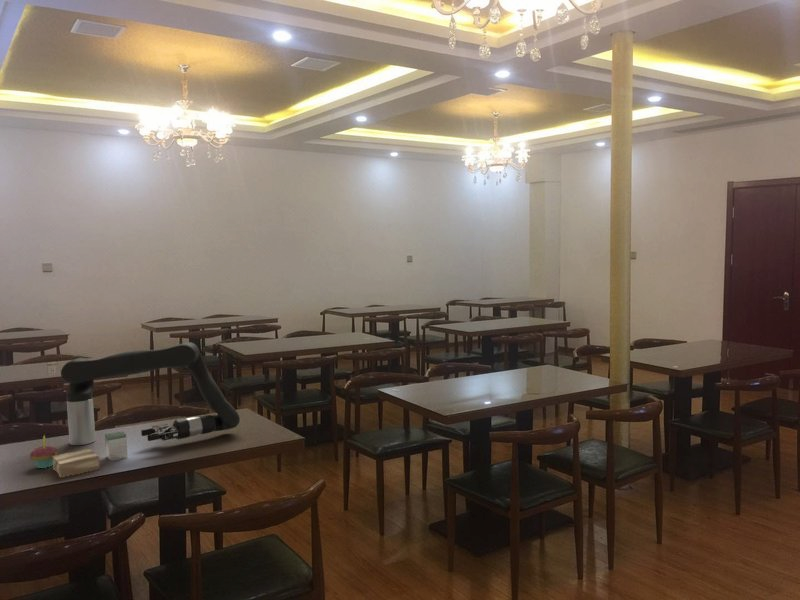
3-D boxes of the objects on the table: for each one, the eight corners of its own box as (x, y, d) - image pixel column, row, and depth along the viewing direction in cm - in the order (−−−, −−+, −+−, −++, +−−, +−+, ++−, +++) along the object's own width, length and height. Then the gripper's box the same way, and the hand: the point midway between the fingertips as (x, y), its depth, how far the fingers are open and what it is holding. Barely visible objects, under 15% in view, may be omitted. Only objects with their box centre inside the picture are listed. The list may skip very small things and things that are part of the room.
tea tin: (106, 457, 236) (104, 434, 235) (123, 453, 240) (122, 431, 239) (109, 461, 231) (108, 437, 231) (127, 457, 235) (126, 434, 234)
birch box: (53, 470, 224) (52, 455, 224) (90, 462, 232) (89, 448, 231) (61, 478, 215) (60, 464, 214) (99, 470, 222) (98, 456, 222)
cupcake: (62, 465, 227) (59, 432, 226) (35, 472, 221) (33, 438, 220) (52, 461, 233) (50, 428, 232) (26, 467, 227) (24, 433, 226)
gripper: (181, 414, 256) (138, 422, 246) (193, 421, 245) (149, 429, 235) (182, 433, 257) (139, 441, 247) (194, 441, 245) (150, 449, 236)
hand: (144, 435), depth 241 cm, fingers open, 8 cm apart
